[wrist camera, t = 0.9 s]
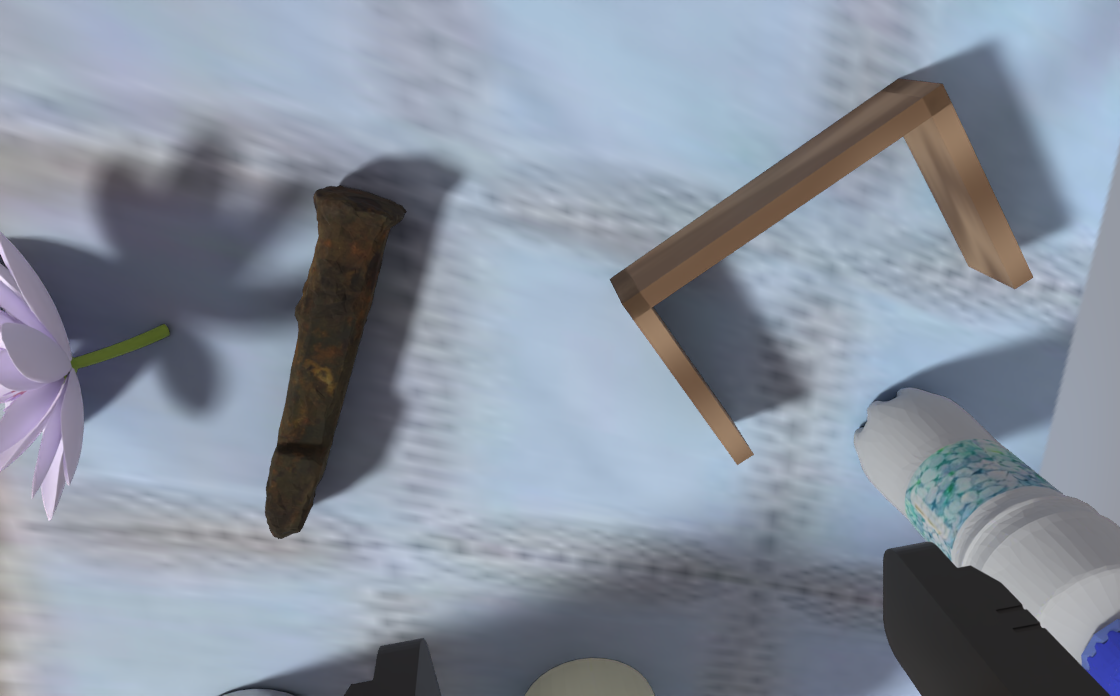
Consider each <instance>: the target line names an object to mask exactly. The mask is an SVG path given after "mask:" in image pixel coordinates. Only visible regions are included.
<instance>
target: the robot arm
mask: <svg viewBox="0 0 1120 696" xmlns="http://www.w3.org/2000/svg"><path fill="white" fill-rule="evenodd" d="M883 621H884V628H885V632H886V636H887V639H888V642H889V645H890V647H891V649H892V651H893V653H894V655H895V657H896V659H897V660H898V662H899V663H900V665H901V666H902V667H903V669H904V670H905V672H906V673H907V675H908V676H909V678H910V679H911V681H912V682H913V684H914V685H915V687H916V688H917V690H918V691H919V693H920V694H921V696H1110V695H1109V694H1108V692H1107V691H1106V690H1105V689H1104V688H1103V687H1102V686H1101V685H1100V684H1099V683H1098V682H1097V681H1096V680H1095V679H1094V678H1093V677H1092V676H1091V675H1090V674H1089V673H1088V672H1087V671H1086V670H1085V669H1084V668H1083V667H1082V666H1081V665H1080V664H1079V662H1078V661H1077V660H1076V659H1075V658H1074V657H1073V656H1072V655H1071V654H1070V653H1069V652H1068V651H1067V650H1066V649H1065V648H1064V647H1063V646H1062V645H1061V644H1060V643H1059V642H1058V641H1057V640H1056V639H1055V638H1054V637H1053V636H1052V635H1051V634H1050V632H1049V631H1048V630H1047V629H1046V628H1042V627H1041V625H1040V622H1039V621H1038V620H1037V619H1036V618H1035V617H1034V616H1033V615H1032V614H1031V613H1030V612H1029V611H1028V610H1027V609H1024V608H1023V605H1022V604H1021V602H1020V601H1019V600H1018V599H1017V598H1016V597H1015V596H1014V595H1013V594H1012V593H1011V592H1010V591H1009V590H1008V589H1007V588H1006V587H1005V586H1004V585H1003V584H1002V583H1001V582H999V581H998V580H996V579H994V578H992V577H990V576H989V575H987V574H985V573H983V572H982V571H980V570H978V569H976V568H974V567H973V566H971V565H970V566H965V567H959V568H957V567H956V566H955V565H954V564H953V563H952V562H951V560H950V559H949V558H948V557H947V556H946V555H945V554H944V553H943V552H942V551H941V549H940V548H939V547H938V546H937V545H936V544H934V543H933V542H923V543H918V544H912V545H907V546H902V547H896V548H891V549H887V550H886V551H885V553H884V558H883ZM223 696H294V695H291V694H289V693H285V692H281V691H276V690H269V689H249V690H240V691H236V692H232V693H229V694H225V695H223ZM344 696H441V693H440V689H439V686H438V682H437V678H436V675H435V671H434V667H433V664H432V660H431V656H430V653H429V649H428V646H427V643H426V641H425V639H424V638H421V639H416V640H411V641H405V642H400V643H395V644H389V645H384V646H381V647H380V648H379V650H378V654H377V660H376V666H375V672H374V678H373V680H372V681H367V682H362V683H356V684H351V686H350V687H349V689H348V690H347V692H346V693H345V695H344Z"/></svg>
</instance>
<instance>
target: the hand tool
mask: <svg viewBox="0 0 1120 696" xmlns="http://www.w3.org/2000/svg"><path fill="white" fill-rule="evenodd" d="M313 198H314V204H315V208H316V212H317V221H318V233H319V237H318V241H317V244H316V247H315V254H314V258H313V261H312V264H311V267H310V269H309V274H308V279H307V281H306V282H305V284H304V287H303V296H302V298H301V300H300V301H299V303H298V304H297V306H296V308H295V317H296V319H297V321H298V328H299V332H298V339H297V345H296V350H295V354H294V358H293V363H292V367H291V373H290V380H289V385H288V391H287V397H286V403H285V407H284V412H283V416H282V420H281V424H280V428H279V433H278V443H277V447H276V449H275V451H274V454H273V457H272V461H271V466H270V472H269V477H268V481H267V486H266V494H267V497H266V505H265V515H266V518H267V523H268V525H269V529H270V531H271V533H272V535H273V536H274V537H277V538H278V539H279V538H280V539H282V538H284V537H287V536H289V535H291V534H293V533H298V532H300V531H301V529H302V528H303V526H304V523H305V521H306V519H307V517H308V514H309V512H310V510H311V508H312V506H313V500H314V497H315V490H316V487H317V485H318V484H319V482H320V480H321V478H322V477H323V474H324V471H325V468H326V465H327V460H328V456H329V453H330V448H331V446H332V442H333V436H334V432H335V429H336V426H337V422H338V419H339V415H340V412H341V409H342V405H343V401H344V398H345V394H346V391H347V387H348V384H349V380H350V376H351V373H352V369H353V366H354V362H355V358H356V355H357V351H358V346H359V343H360V340H361V337H362V333H363V329H364V325H365V323H366V321H367V316H368V313H369V311H370V308H371V305H372V301H373V296H374V290H375V287H376V283H377V279H378V274H379V272H380V269H381V264H382V258H383V253H384V249H385V245H386V241H387V237H388V234H389V231H390V228H391V227H393V226H395V225H396V224H398V223H399V222H400V221H401V220H402V219H403V217H404V215H405V214H404V213H406V210H405V209H404V208H403V206H401V205H398V204H396V203H395V202H393V201H391V200H388V199H385V198H382V197H379V196H376V195H374V194H371V193H368V192H365V191H362V190H358V189H352V188H347V187H343V186H341V185H340V186H338V187H334V186H329V187H326V188H323V189H319V190H317V191H316V192H315V193H314V197H313Z"/></svg>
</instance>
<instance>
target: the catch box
mask: <svg viewBox="0 0 1120 696" xmlns="http://www.w3.org/2000/svg"><path fill="white" fill-rule="evenodd" d="M901 137H904V139H905V141H906V143H907V144H908V146H909V148H910V150H911V152H912V154H913V156H914V158H915V160H916V162H917V164H918V166H919V168H920V170H921V172H922V174H923V176H924V178H925V180H926V182H927V184H928V186H929V188H930V190H931V192H932V194H933V196H934V198H935V200H936V202H937V204H938V206H939V208H940V210H941V212H942V214H943V216H944V218H945V220H946V222H947V224H948V226H949V228H950V230H951V232H952V234H953V236H954V238H955V240H956V242H957V244H958V246H959V248H960V250H961V252H962V254H963V256H964V258H965V260H966V262H967V264H968V266H969V267H971V268H973V269H975V270H977V271H979V272H981V273H983V274H985V275H987V276H989V277H991V278H993V279H995V280H997V281H999V282H1001V283H1003V284H1006V285H1008V286H1010V287H1012V288H1014V289H1016V288H1018V287H1019V286H1021V285H1022V284H1024V283H1025V282H1027V281H1029V280H1030V279H1032V278H1033V275H1032V273H1031V271H1030V269H1029V267H1028V265H1027V263H1026V261H1025V258H1024V256H1023V254H1022V252H1021V250H1020V248H1019V246H1018V243H1017V241H1016V239H1015V237H1014V235H1013V233H1012V231H1011V229H1010V226H1009V224H1008V222H1007V220H1006V218H1005V216H1004V214H1003V211H1002V209H1001V207H1000V205H999V203H998V201H997V199H996V197H995V194H994V192H993V190H992V188H991V186H990V184H989V182H988V179H987V177H986V175H985V173H984V171H983V169H982V167H981V165H980V162H979V160H978V158H977V156H976V154H975V152H974V150H973V147H972V145H971V143H970V141H969V139H968V137H967V135H966V133H965V130H964V128H963V126H962V124H961V122H960V120H959V118H958V115H957V113H956V111H955V109H954V107H953V105H952V103H951V101H950V98H949V96H948V94H947V92H946V90H945V88H944V86H943V84H940V83H931V82H923V81H915V80H907V79H897V80H896V81H894V82H893V83H892V84H890V85H889V86H887V87H886V88H884V89H883V90H881V91H880V92H879V93H877V94H876V95H874V96H873V97H871V98H870V99H868V100H867V101H866V102H864V103H863V104H861V105H860V106H858V107H857V108H856V109H854V110H853V111H851V112H850V113H848V114H847V115H845V116H844V117H843V118H841V119H840V120H838V121H837V122H835V123H834V124H832V125H831V126H830V127H828V128H827V129H825V130H824V131H822V132H821V133H820V134H818V135H817V136H815V137H814V138H812V139H811V140H809V141H808V142H807V143H805V144H804V145H802V146H801V147H799V148H798V149H796V150H795V151H794V152H792V153H791V154H789V155H788V156H786V157H785V158H784V159H782V160H781V161H779V162H778V163H776V164H775V165H773V166H772V167H771V168H769V169H768V170H766V171H765V172H763V173H762V174H760V175H759V176H758V177H756V178H755V179H753V180H752V181H750V182H749V183H748V184H746V185H745V186H743V187H742V188H740V189H739V190H737V191H736V192H735V193H733V194H732V195H730V196H729V197H727V198H726V199H725V200H723V201H722V202H720V203H719V204H717V205H716V206H714V207H713V208H712V209H710V210H709V211H707V212H706V213H704V214H703V215H701V216H700V217H699V218H697V219H696V220H694V221H693V222H691V223H690V224H689V225H687V226H686V227H684V228H683V229H681V230H680V231H678V232H677V233H676V234H674V235H673V236H671V237H670V238H668V239H667V240H665V241H664V242H663V243H661V244H660V245H658V246H657V247H655V248H654V249H653V250H651V251H650V252H648V253H647V254H645V255H644V256H642V257H641V258H640V259H638V260H637V261H635V262H634V263H632V264H631V265H629V266H628V267H627V268H625V269H624V270H622V271H621V272H619V273H618V274H617V275H615V276H614V277H612V278H611V279H610V281H611V283H612V285H613V287H614V289H615V291H616V293H617V295H618V297H619V299H620V301H621V303H622V305H623V306H624V308H625V309H626V310H627V312H628V313H629V314H630V316H631V317H632V319H633V320H634V321H635V323H636V324H637V326H638V327H639V328H640V330H641V331H642V333H643V334H644V335H645V337H646V338H647V340H648V341H649V342H650V344H651V345H652V347H653V348H654V349H655V351H656V352H657V354H658V355H659V356H660V358H661V359H662V360H663V362H664V363H665V365H666V366H667V367H668V369H669V370H670V372H671V373H672V374H673V376H674V377H675V379H676V380H677V381H678V383H679V384H680V386H681V387H682V388H683V390H684V391H685V393H686V394H687V395H688V397H689V398H690V399H691V401H692V402H693V404H694V405H695V406H696V408H697V409H698V411H699V412H700V413H701V415H702V416H703V418H704V419H705V420H706V422H707V423H708V425H709V426H710V427H711V429H712V430H713V432H714V433H715V434H716V436H717V437H718V439H719V440H720V441H721V443H722V444H723V445H724V447H725V448H726V450H727V451H728V452H729V454H730V455H731V457H732V458H733V459H734V461H735V462H736V464H737V465H738V464H740V463H741V462H743V461H744V460H746V459H748V458H749V457H751V456H752V455H754V454H753V452H752V451H751V449H750V448H749V446H748V444H747V443H746V441H745V440H744V438H743V437H742V435H741V433H740V432H739V430H738V429H737V427H736V425H735V424H734V422H733V421H732V419H731V418H730V416H729V415H728V413H727V412H726V410H725V409H724V408H723V406H722V405H721V403H720V402H719V400H718V399H717V398H716V396H715V395H714V393H713V392H712V391H711V389H710V388H709V386H708V385H707V383H706V382H705V381H704V379H703V378H702V376H701V375H700V373H699V372H698V371H697V369H696V368H695V366H694V365H693V363H692V362H691V361H690V359H689V358H688V356H687V355H686V353H685V352H684V351H683V349H682V348H681V346H680V345H679V343H678V342H677V341H676V339H675V338H674V336H673V335H672V333H671V332H670V331H669V329H668V328H667V326H666V325H665V323H664V322H663V321H662V319H661V318H660V316H659V315H658V313H657V312H656V311H655V309H654V308H653V306H655V305H656V304H658V303H659V302H661V301H662V300H664V299H665V298H667V297H668V296H670V295H671V294H673V293H674V292H675V291H677V290H678V289H680V288H681V287H683V286H684V285H686V284H687V283H689V282H690V281H692V280H693V279H695V278H696V277H698V276H699V275H700V274H702V273H703V272H705V271H706V270H708V269H709V268H711V267H712V266H714V265H715V264H717V263H718V262H720V261H721V260H722V259H724V258H725V257H727V256H728V255H730V254H731V253H733V252H734V251H736V250H737V249H739V248H740V247H742V246H743V245H744V244H746V243H747V242H749V241H750V240H752V239H753V238H755V237H756V236H758V235H759V234H761V233H762V232H764V231H765V230H766V229H768V228H769V227H771V226H772V225H774V224H775V223H777V222H778V221H780V220H781V219H783V218H784V217H786V216H787V215H788V214H790V213H791V212H793V211H794V210H796V209H797V208H799V207H800V206H802V205H803V204H805V203H806V202H808V201H809V200H810V199H812V198H813V197H815V196H816V195H818V194H819V193H821V192H822V191H824V190H825V189H827V188H828V187H830V186H831V185H833V184H834V183H835V182H837V181H838V180H840V179H841V178H843V177H844V176H846V175H847V174H849V173H850V172H852V171H853V170H855V169H856V168H857V167H859V166H860V165H862V164H863V163H865V162H866V161H868V160H869V159H871V158H872V157H874V156H875V155H877V154H878V153H879V152H881V151H882V150H884V149H885V148H887V147H888V146H890V145H891V144H893V143H894V142H896V141H897V140H899V139H900V138H901Z"/></svg>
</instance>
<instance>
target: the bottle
mask: <svg viewBox="0 0 1120 696" xmlns="http://www.w3.org/2000/svg"><path fill="white" fill-rule="evenodd" d="M867 414H868V416H867V422H866V424H865V426H864V428H858V429H857V430H856V431H855V434H854V446H855V449H856V452H857V454H858V457H859V460H860V463H861V466H862V469H863V471H864V473H865V475H866V476H867V477H868V479H869V480H870V482H871V483H872V484H873V485H874V486H875V487H876V488H877V489H878V491H879V492H880V493H881V494H882V495H883V496H884V497H885V498H886V499H887V500H888V501H889V502H890V503H891V504H892V505H893V506H895V507H896V508H897V509H898V510H899V511H900V512H901V513H902V514H903V515H904V516H905V517H906V518H907V519H908V520H909V521H910V522H911V524H912V525H913V526H914V527H915V529H916V530H917V531H918V532H919V533H920V534H921V536H922V537H923V538H924V539H925V540H926V541H927V542H933V543H934V544H936V545H937V546H938V547H939V548H940V549H941V551H942V552H943V553H944V554H945V555H946V556H947V557H948V558H949V559H950V560H951V562H952V563H953V564H954V565H955V566H956V567H957V568H959V567H965V566H970V565H971V566H973V567H974V568H976V569H978V570H980V571H982V572H983V573H985V574H987V575H989V576H990V577H992V578H994V579H996V580H998V581H999V582H1001V583H1002V584H1003V585H1004V586H1005V587H1006V588H1007V589H1008V590H1009V591H1010V592H1011V593H1012V594H1013V595H1014V596H1015V597H1016V598H1017V599H1018V600H1019V601H1020V602H1021V604H1022V605H1023V608H1024V609H1027V610H1028V611H1029V612H1030V613H1031V614H1032V615H1033V616H1034V617H1035V618H1036V619H1037V620H1038V621H1039V622H1040V625H1041V627H1042V628H1046V629H1047V630H1048V631H1049V632H1050V634H1051V635H1052V636H1053V637H1054V638H1055V639H1056V640H1057V641H1058V642H1059V643H1060V644H1061V645H1062V646H1063V647H1064V648H1065V649H1066V650H1067V651H1068V652H1069V653H1070V654H1071V655H1072V656H1073V657H1074V658H1075V659H1076V660H1077V661H1078V662H1079V664H1080V665H1081V666H1082V667H1083V668H1084V669H1085V670H1086V671H1087V672H1088V673H1089V674H1090V675H1091V676H1092V677H1093V678H1094V679H1095V680H1096V681H1097V682H1098V683H1099V684H1100V685H1101V686H1102V687H1103V688H1104V689H1105V690H1106V691H1107V692H1108V694H1109V695H1110V696H1120V527H1119V526H1117V524H1116V523H1114V522H1113V521H1111V520H1110V519H1108V518H1106V517H1104V516H1102V515H1100V514H1099V513H1098V512H1097V511H1096V510H1095V509H1094V508H1092V507H1091V506H1090V505H1088V504H1087V503H1085V502H1083V501H1081V500H1078V499H1076V498H1072V497H1068V496H1065V495H1063V494H1062V493H1061V492H1060V491H1058V490H1057V489H1056V488H1055V487H1053V486H1052V485H1051V484H1050V483H1048V482H1047V481H1046V480H1045V479H1043V478H1042V477H1041V476H1040V475H1039V474H1037V473H1036V472H1035V471H1034V470H1032V469H1031V468H1030V467H1029V466H1027V465H1026V464H1025V463H1024V462H1022V461H1021V460H1020V459H1019V458H1018V457H1016V456H1015V455H1014V454H1013V453H1011V452H1010V451H1009V450H1008V449H1006V448H1005V447H1004V446H1002V445H1001V444H1000V443H999V442H998V441H996V440H995V439H994V438H993V437H992V436H991V435H990V434H989V433H988V432H987V431H986V430H985V429H984V428H983V427H982V426H981V425H980V424H979V423H978V422H977V421H976V420H975V419H974V418H973V417H972V416H971V415H970V414H969V413H967V412H966V411H965V410H964V409H963V408H962V407H960V406H959V405H958V404H957V403H955V402H954V401H952V400H950V399H949V398H947V397H944V396H941V395H937V394H933V393H929V392H926V391H924V390H920V389H917V388H911V387H909V388H903V389H900V390H899V391H898V392H897V397H896V398H894V399H892V400H890V401H886V402H882V401H875V402H873V403H872V404H871V405H870V406H869V407H868V408H867Z"/></svg>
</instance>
